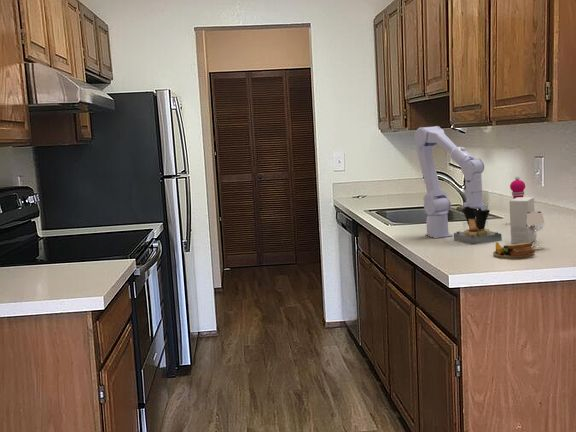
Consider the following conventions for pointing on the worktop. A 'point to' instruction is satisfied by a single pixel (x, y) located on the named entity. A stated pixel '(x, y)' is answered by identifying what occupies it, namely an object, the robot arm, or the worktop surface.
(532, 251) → the toy sandwich meal
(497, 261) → the worktop surface
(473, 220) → the copper spout can
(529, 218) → the wineglass
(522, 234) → the skincare box
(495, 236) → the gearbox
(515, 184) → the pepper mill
